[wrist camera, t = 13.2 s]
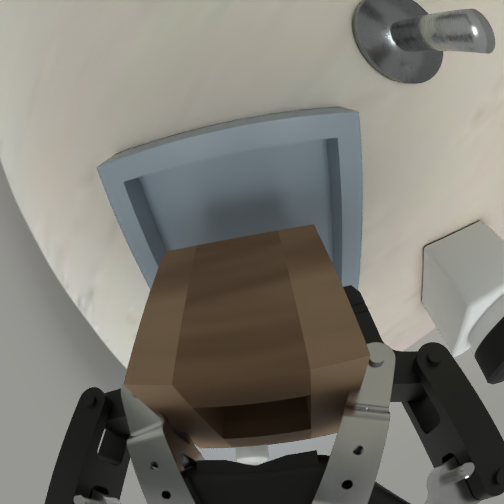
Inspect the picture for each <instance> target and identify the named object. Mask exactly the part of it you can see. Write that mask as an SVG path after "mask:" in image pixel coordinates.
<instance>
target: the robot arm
mask: <svg viewBox="0 0 504 504" xmlns="http://www.w3.org/2000/svg"><path fill="white" fill-rule="evenodd" d="M343 288H344V291H345V293H346V295H347V298H348V300H349V302H350V305H351V307H352V310H353V312H354V314H355V317H356V319H357V322H358V324H359V327H360V329H361V332H362V334H363V337H364V339H365V342H366V345H367V347H368V350H369V353H370V359H369V363H368V366H367V369H366V373H365V376H364V379H363V382H362V386H361V388H358V389H354V390H350V391H349V394H348V398H347V402H346V406H345V409H344V413H343V416H342V419H341V423H340V426H339V430H338V433H337V436H336V439H335V442H334V445H333V449H332V452H331V454H330V456H327V455H317V451H316V450H315V451H310V452H304V453H298V454H291V455H286V456H283V457H280V458H277V459H274V460H272V461H269V462H266V463H263V464H259V465H249V464H243V463H237V462H232V461H227V460H205V459H204V458H203V456H202V455H201V453H200V452H199V451H198V449H197V448H196V447H195V445H194V443H193V441H192V439H191V437H190V435H188V434H187V433H186V432H177V431H176V430H175V429H174V428H172V427H171V426H170V423H169V421H168V418H167V417H166V416H165V415H164V414H163V413H162V412H153V411H152V410H151V409H149V408H148V407H147V406H146V405H145V404H144V403H143V402H141V401H140V400H139V399H138V398H137V397H136V396H135V395H134V394H133V393H132V392H131V391H130V390H129V389H128V388H126V387H125V386H124V384H123V385H122V387H121V389H118V390H115V391H111V392H108V393H104V392H103V391H102V390H100V389H99V388H96V387H92V388H89V389H87V390H86V391H85V392H84V393H83V394H82V395H81V397H80V399H79V402H78V404H77V407H76V409H75V412H74V414H73V417H72V419H71V422H70V425H69V427H68V430H67V433H66V435H65V439H64V441H63V444H62V447H61V450H60V452H59V456H58V459H57V462H56V465H55V468H54V471H53V475H52V479H51V482H50V486H49V489H48V493H47V497H46V501H45V504H121V503H120V501H119V499H120V495H121V491H122V487H123V483H124V479H125V476H126V472H127V468H128V464H129V460H130V458H131V461H132V463H133V467H134V470H135V473H136V475H137V478H138V481H139V484H140V486H141V489H142V491H143V494H144V496H145V499H146V501H147V504H410V503H408V502H407V501H405V500H403V499H402V498H400V497H399V496H397V495H395V494H394V493H392V492H391V491H389V490H387V489H386V488H384V487H383V486H381V485H380V484H378V483H377V482H375V480H376V476H377V473H378V469H379V466H380V462H381V458H382V454H383V450H384V446H385V442H386V437H387V432H388V428H389V422H390V412H389V404H390V402H402V404H403V406H404V408H405V410H406V412H407V414H408V415H409V417H410V419H411V421H412V423H413V425H414V427H415V429H416V431H417V433H418V435H419V437H420V439H421V441H422V443H423V445H424V447H425V450H426V451H427V454H428V456H429V458H430V460H431V462H432V464H433V467H434V469H433V470H432V471H431V473H430V474H429V476H428V479H427V489H428V497H427V500H426V502H425V504H477V503H478V502H480V501H481V500H484V499H488V498H491V497H494V496H497V495H500V494H502V493H503V492H504V441H503V439H502V437H501V435H500V433H499V431H498V429H497V427H496V425H495V424H494V422H493V420H492V418H491V417H490V415H489V413H488V411H487V410H486V408H485V406H484V404H483V403H482V401H481V400H480V398H479V396H478V395H477V393H476V392H475V390H474V388H473V387H472V386H471V384H470V382H469V381H468V379H467V378H466V376H465V374H464V373H463V372H462V370H461V368H460V367H459V366H458V364H457V363H456V361H455V360H454V358H453V357H452V355H451V354H450V352H449V351H448V350H447V349H446V347H444V346H443V345H441V344H439V343H435V342H434V343H433V342H431V343H427V344H425V345H423V346H422V347H421V348H420V349H419V351H418V352H401V351H395V350H393V349H391V348H390V347H389V346H388V345H386V344H384V342H383V341H382V339H381V337H380V335H379V332H378V330H377V328H376V326H375V323H374V321H373V319H372V317H371V315H370V312H369V311H368V308H367V306H366V304H365V302H364V300H363V297H362V295H361V293H360V292H359V291H358V290H357V289H356V288H354V287H353V286H352V285H349V286H344V287H343ZM104 429H106V431H105V434H104V437H103V440H102V443H101V446H100V449H99V453H98V454H97V450H98V446H99V443H100V440H101V437H102V434H103V431H104Z"/></svg>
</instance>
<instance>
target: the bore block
mask: <svg viewBox="0 0 504 504" xmlns="http://www.w3.org/2000/svg"><path fill="white" fill-rule="evenodd" d="M369 359H370V353H369V350H368V347H367V345H366V342H365V339H364V337H363V334H362V332H361V329H360V327H359V324H358V322H357V319H356V317H355V314H354V312H353V310H352V307H351V305H350V302H349V300H348V298H347V295H346V293H345V291H344V288H343V286H342V284H341V281H340V279H339V277H338V275H337V272H336V270H335V268H334V266H333V264H332V261H331V259H330V257H329V255H328V253H327V251H326V248H325V246H324V244H323V242H322V240H321V238H320V236H319V234H318V232H317V230H316V228H315V225H314V224H312V225H306V226H300V227H294V228H289V229H283V230H277V231H272V232H266V233H260V234H255V235H249V236H244V237H239V238H233V239H228V240H222V241H217V242H212V243H206V244H201V245H196V246H191V247H185V248H180V249H175V250H170V251H165V252H164V254H163V256H162V259H161V262H160V265H159V268H158V270H157V273H156V276H155V279H154V282H153V285H152V288H151V291H150V294H149V297H148V300H147V303H146V306H145V309H144V312H143V316H142V319H141V322H140V325H139V329H138V332H137V336H136V339H135V343H134V346H133V350H132V353H131V357H130V361H129V365H128V368H127V372H126V376H125V381H124V386H125V387H126V388H128V389H129V390H130V391H131V392H132V393H133V394H134V395H135V396H136V397H137V398H138V399H139V400H140V401H141V402H143V403H144V404H145V405H146V406H147V407H148V408H149V409H151V410H152V411H153V412H162V413H163V414H164V415H165V416H166V417H167V418H168V421H169V423H170V426H171V427H172V428H174V429H175V430H176V431H177V432H186V433H187V434H188V435H190V437H191V439H192V441H193V443H194V444H195V445H196V446H198V447H199V448H230V447H231V448H232V447H249V446H260V445H270V444H278V443H285V442H293V441H299V440H305V439H310V438H316V437H320V436H325V435H330V434H334V433H338V430H339V426H340V423H341V419H342V416H343V413H344V409H345V406H346V402H347V398H348V394H349V391H350V390H354V389H358V388H361V386H362V382H363V379H364V376H365V373H366V369H367V366H368V363H369Z"/></svg>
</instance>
